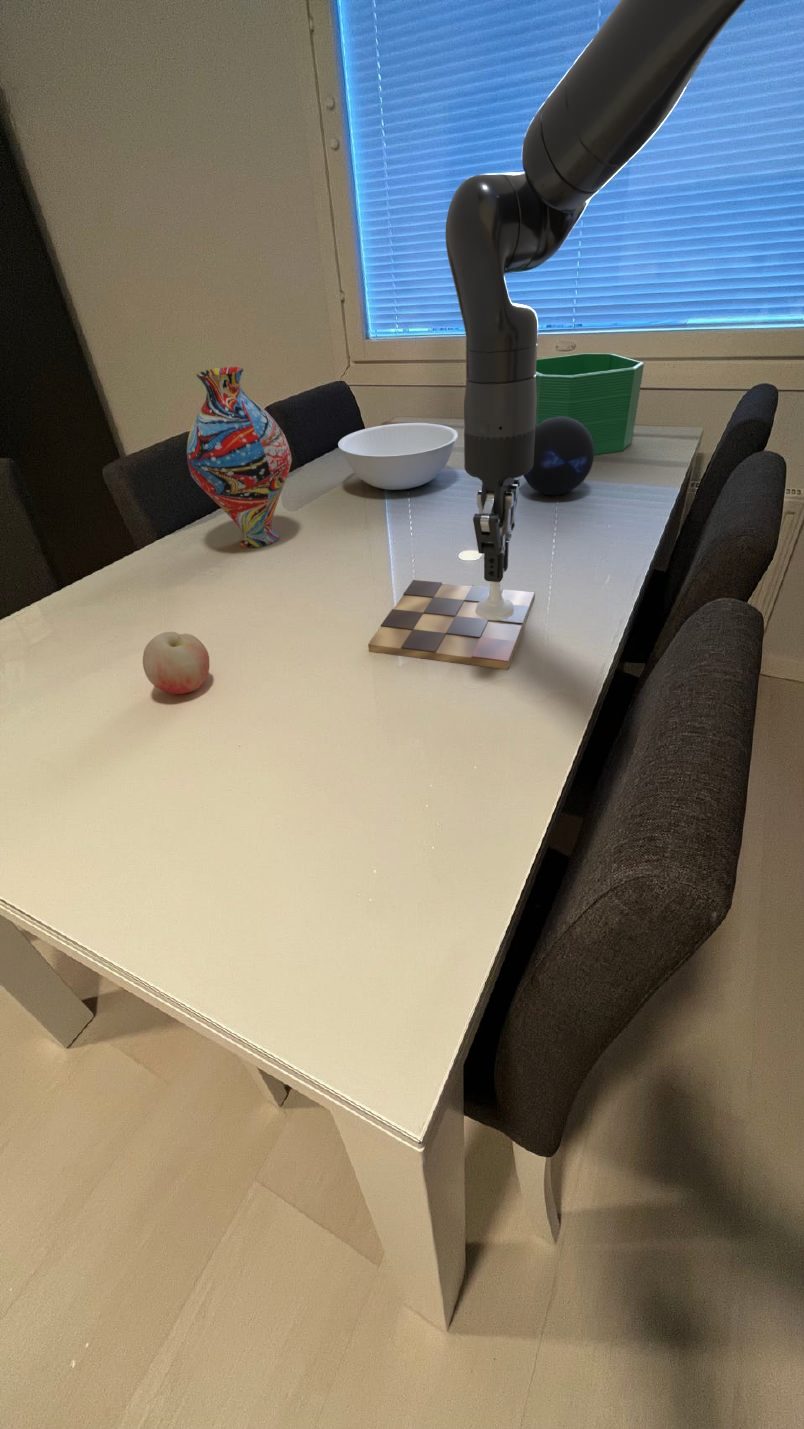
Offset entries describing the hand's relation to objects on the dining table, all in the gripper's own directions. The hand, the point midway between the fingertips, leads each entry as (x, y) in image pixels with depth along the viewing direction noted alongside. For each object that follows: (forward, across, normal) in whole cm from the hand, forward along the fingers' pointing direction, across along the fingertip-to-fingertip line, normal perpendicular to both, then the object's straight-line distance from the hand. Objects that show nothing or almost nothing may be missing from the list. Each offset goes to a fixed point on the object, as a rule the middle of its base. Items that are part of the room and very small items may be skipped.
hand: (496, 574), depth 75 cm
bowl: (+12, +68, +38) cm, 79 cm away
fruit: (+12, -16, +39) cm, 44 cm away
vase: (+12, +32, +56) cm, 65 cm away
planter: (+12, +104, +3) cm, 105 cm away
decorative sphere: (+12, +66, +2) cm, 67 cm away
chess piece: (+5, 0, 0) cm, 5 cm away
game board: (+12, +8, +8) cm, 16 cm away
